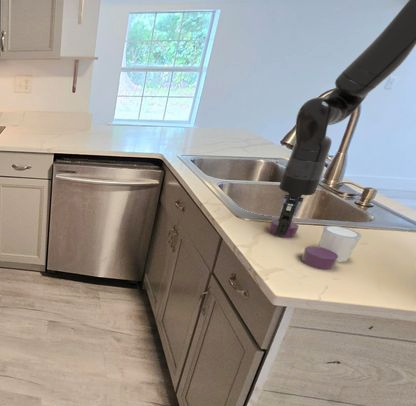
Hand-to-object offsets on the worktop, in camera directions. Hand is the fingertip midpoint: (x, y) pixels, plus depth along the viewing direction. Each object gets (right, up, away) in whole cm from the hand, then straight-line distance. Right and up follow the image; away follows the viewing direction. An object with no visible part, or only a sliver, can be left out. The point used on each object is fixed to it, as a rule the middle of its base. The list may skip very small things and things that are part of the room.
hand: (282, 230), depth 103 cm
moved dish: (0, -1, 0) cm, 1 cm away
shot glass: (+3, -6, -11) cm, 13 cm away
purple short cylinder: (-3, -7, -14) cm, 16 cm away
